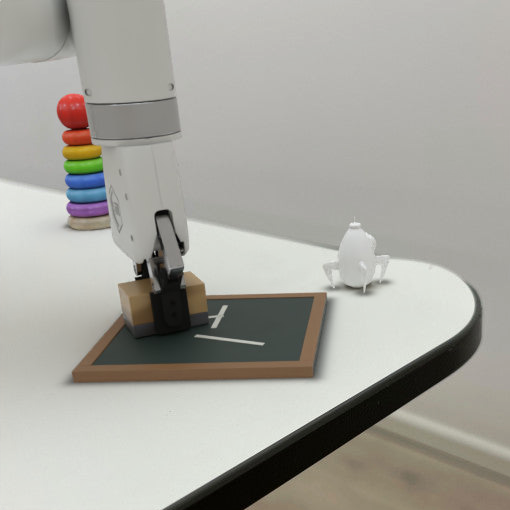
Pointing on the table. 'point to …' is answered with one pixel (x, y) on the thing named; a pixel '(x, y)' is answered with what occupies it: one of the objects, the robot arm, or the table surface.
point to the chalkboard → (217, 343)
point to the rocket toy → (356, 259)
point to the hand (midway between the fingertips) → (165, 320)
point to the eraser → (140, 308)
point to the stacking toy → (82, 168)
